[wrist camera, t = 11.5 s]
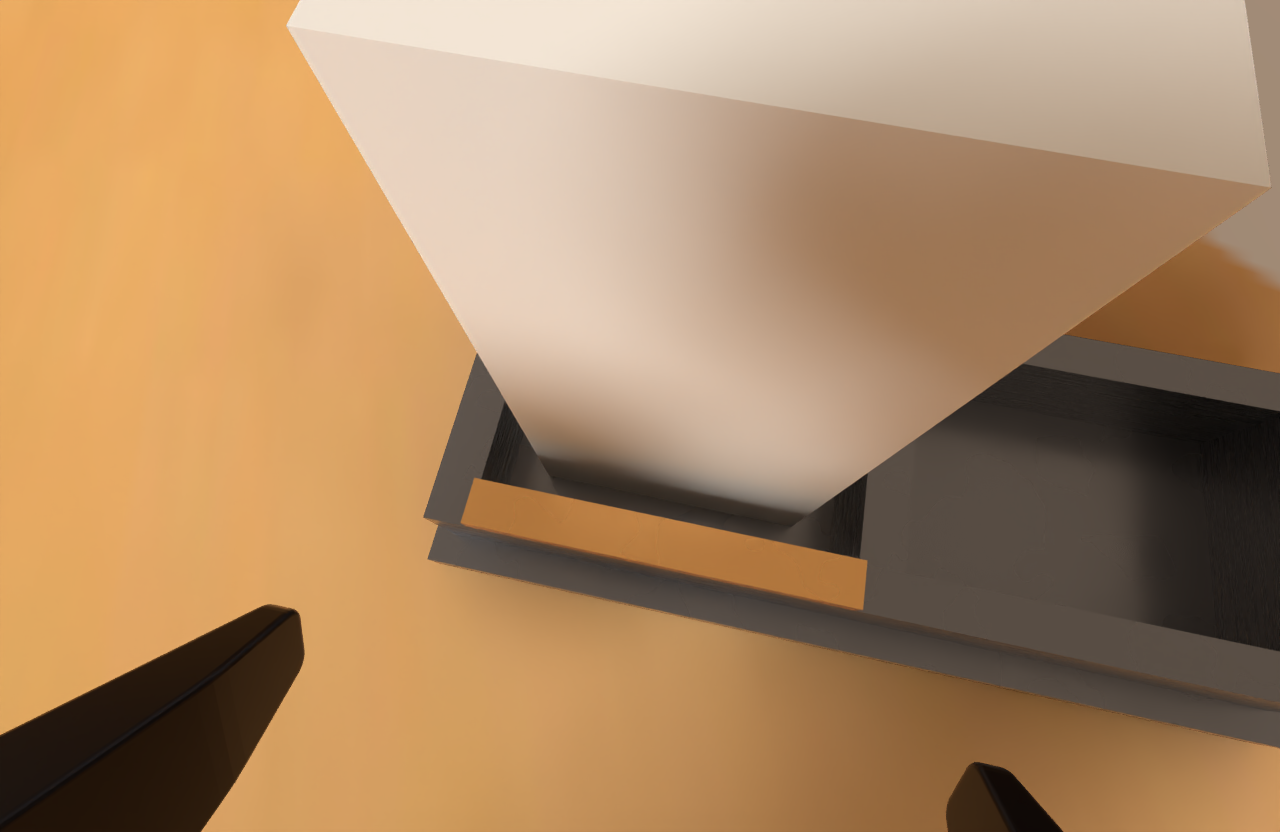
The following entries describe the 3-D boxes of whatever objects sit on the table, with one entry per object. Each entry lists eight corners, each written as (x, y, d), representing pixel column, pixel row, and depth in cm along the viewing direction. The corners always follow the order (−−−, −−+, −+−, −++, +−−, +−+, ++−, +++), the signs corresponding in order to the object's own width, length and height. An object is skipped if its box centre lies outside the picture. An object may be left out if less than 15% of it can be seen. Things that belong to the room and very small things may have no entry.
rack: (1252, 743, 15) (1452, 779, 12) (439, 563, 17) (381, 542, 13) (1218, 407, 18) (1369, 349, 14) (527, 279, 20) (501, 195, 16)
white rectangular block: (791, 527, 16) (1270, 187, 4) (548, 475, 17) (286, 25, 4) (807, 403, 17) (1220, -165, 5) (580, 358, 18) (444, -264, 5)
